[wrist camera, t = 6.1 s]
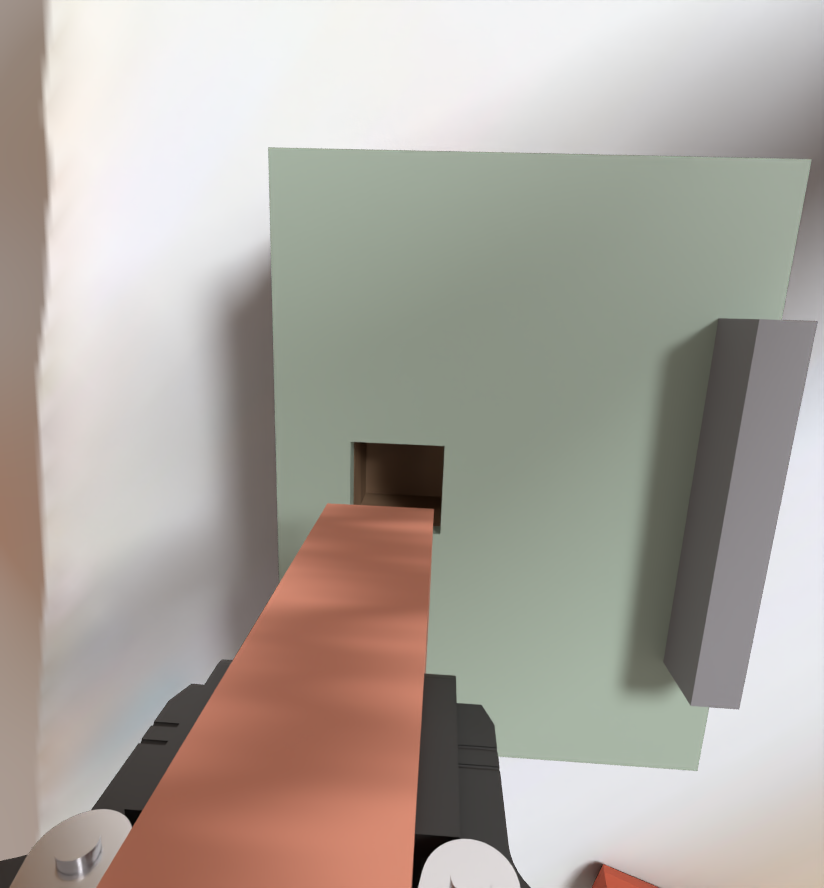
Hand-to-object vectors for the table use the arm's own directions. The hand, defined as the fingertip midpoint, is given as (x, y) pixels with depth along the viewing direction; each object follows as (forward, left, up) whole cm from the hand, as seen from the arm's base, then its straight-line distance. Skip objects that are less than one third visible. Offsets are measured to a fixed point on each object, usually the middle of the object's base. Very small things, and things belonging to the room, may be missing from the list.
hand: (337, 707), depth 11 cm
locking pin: (0, 0, -7) cm, 7 cm away
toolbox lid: (-5, 0, -15) cm, 16 cm away
